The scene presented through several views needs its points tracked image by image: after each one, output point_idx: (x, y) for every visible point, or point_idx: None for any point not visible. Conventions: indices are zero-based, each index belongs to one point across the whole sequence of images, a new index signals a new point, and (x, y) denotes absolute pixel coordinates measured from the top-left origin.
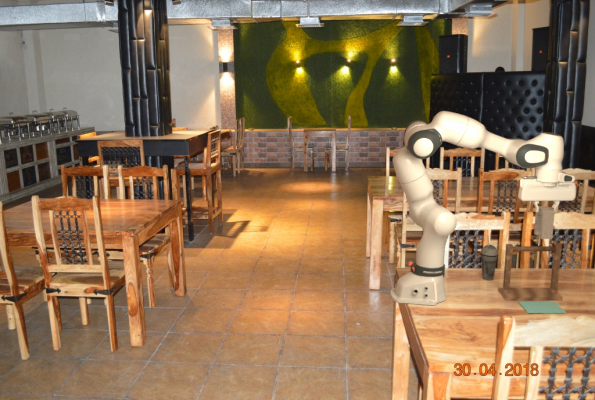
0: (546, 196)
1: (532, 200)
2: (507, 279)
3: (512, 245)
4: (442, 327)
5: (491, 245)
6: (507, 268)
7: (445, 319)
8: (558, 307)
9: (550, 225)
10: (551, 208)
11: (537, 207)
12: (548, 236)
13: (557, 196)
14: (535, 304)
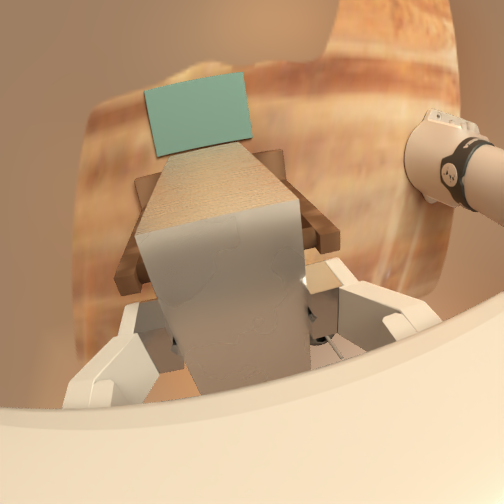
0: (328, 447)
1: (498, 296)
2: (288, 188)
3: (321, 235)
4: (421, 15)
5: (315, 343)
6: (301, 198)
7: (417, 45)
8: (155, 119)
9: (184, 172)
10: (168, 327)
11: (361, 283)
12: (194, 153)
13: (71, 473)
14: (212, 126)
